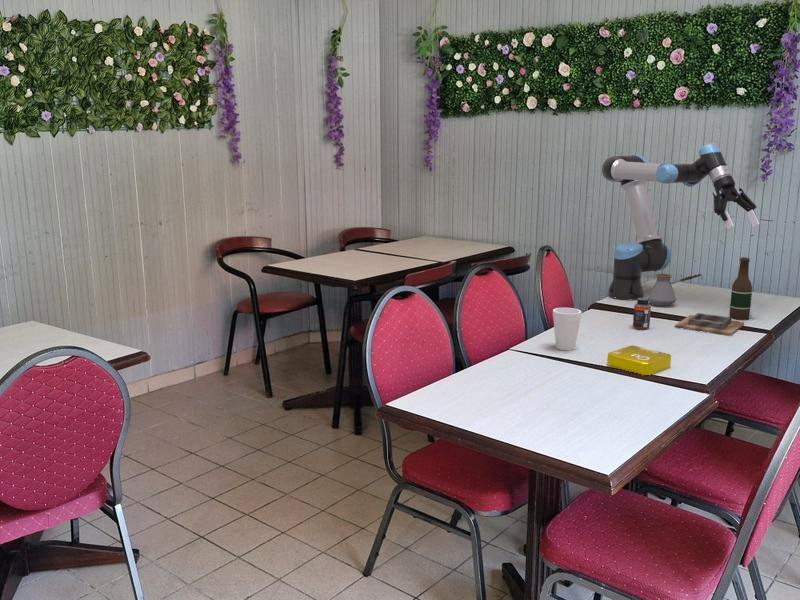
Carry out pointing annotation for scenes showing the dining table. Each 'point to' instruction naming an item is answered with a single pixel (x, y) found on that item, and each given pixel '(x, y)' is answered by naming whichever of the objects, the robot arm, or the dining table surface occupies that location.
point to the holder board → (710, 324)
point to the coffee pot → (665, 290)
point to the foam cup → (566, 327)
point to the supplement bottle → (642, 314)
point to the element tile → (639, 360)
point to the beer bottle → (741, 293)
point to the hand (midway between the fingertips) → (743, 227)
